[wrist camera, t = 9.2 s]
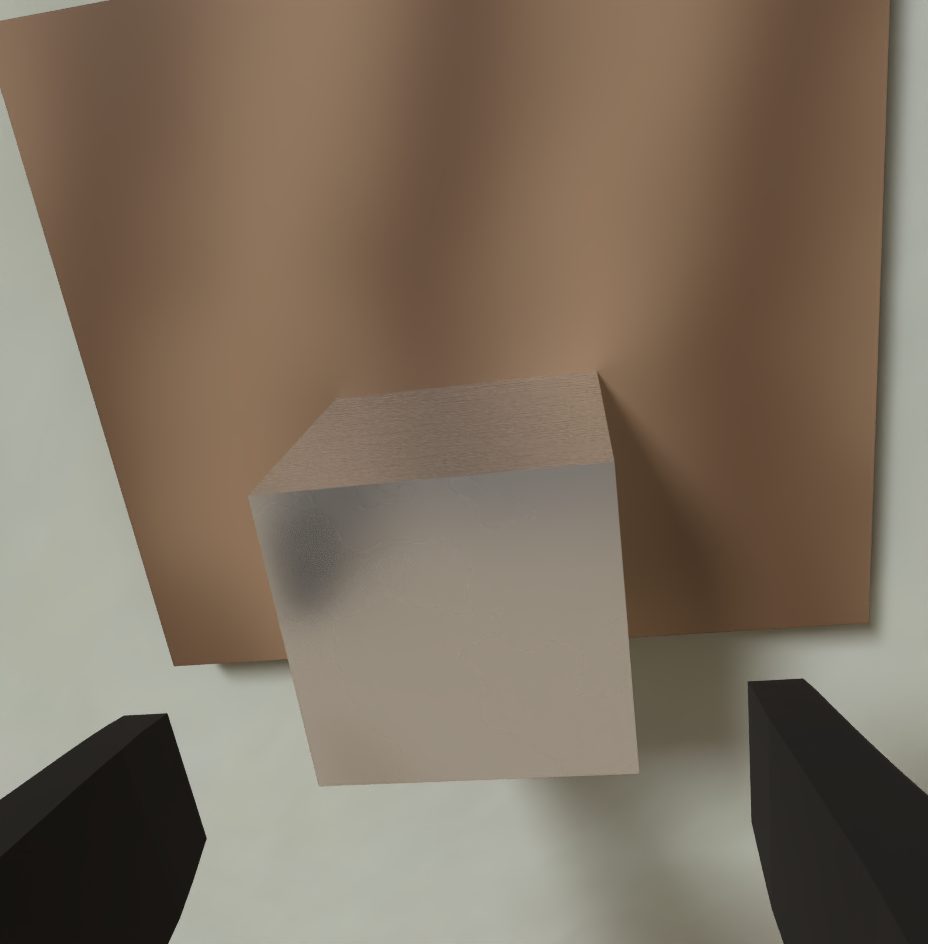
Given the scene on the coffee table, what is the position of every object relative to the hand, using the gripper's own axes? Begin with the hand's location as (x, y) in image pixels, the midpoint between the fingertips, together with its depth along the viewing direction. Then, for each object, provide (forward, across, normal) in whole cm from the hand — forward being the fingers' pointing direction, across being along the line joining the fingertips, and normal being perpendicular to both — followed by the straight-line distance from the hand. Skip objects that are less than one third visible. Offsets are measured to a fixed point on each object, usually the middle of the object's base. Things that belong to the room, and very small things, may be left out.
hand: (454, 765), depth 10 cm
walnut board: (+9, 0, -4) cm, 10 cm away
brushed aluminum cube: (+8, 0, 0) cm, 8 cm away
